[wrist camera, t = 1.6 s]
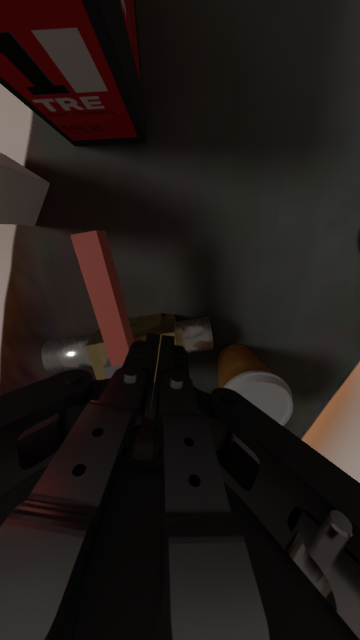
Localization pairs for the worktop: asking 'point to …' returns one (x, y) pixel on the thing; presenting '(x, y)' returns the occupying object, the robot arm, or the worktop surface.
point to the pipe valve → (95, 355)
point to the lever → (104, 296)
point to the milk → (20, 193)
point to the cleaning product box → (75, 66)
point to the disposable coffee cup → (254, 382)
